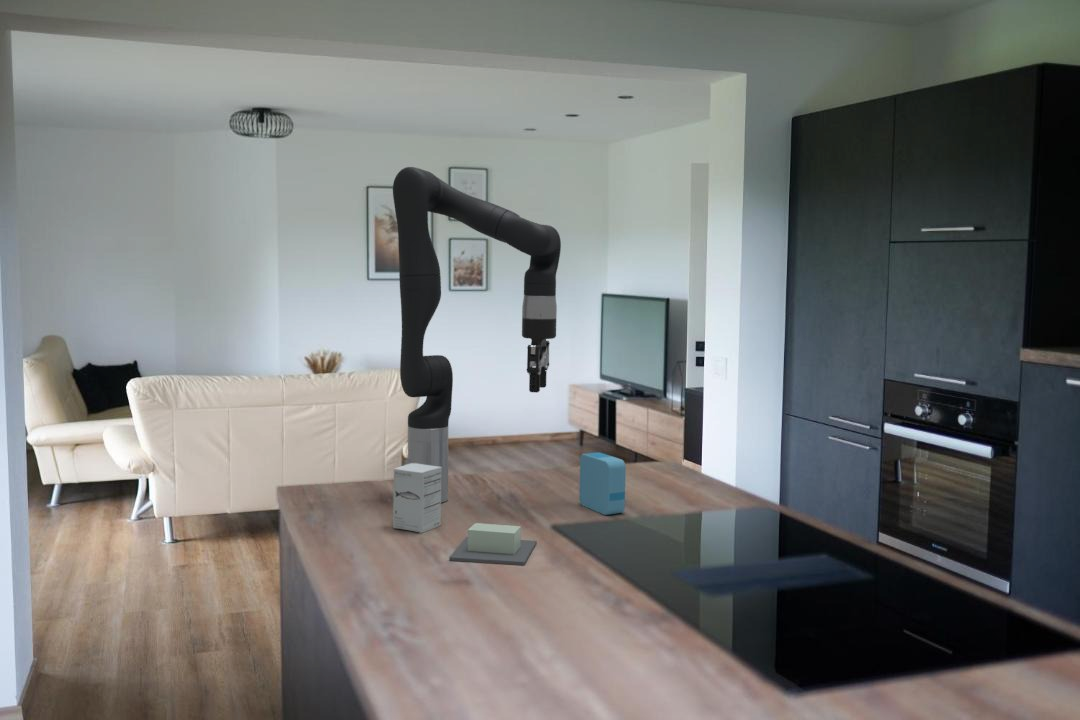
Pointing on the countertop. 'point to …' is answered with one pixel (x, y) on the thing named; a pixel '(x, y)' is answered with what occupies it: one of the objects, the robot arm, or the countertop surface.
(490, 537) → the box
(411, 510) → the supplement box
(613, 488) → the blue box
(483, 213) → the robot arm
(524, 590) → the countertop surface
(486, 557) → the mat
